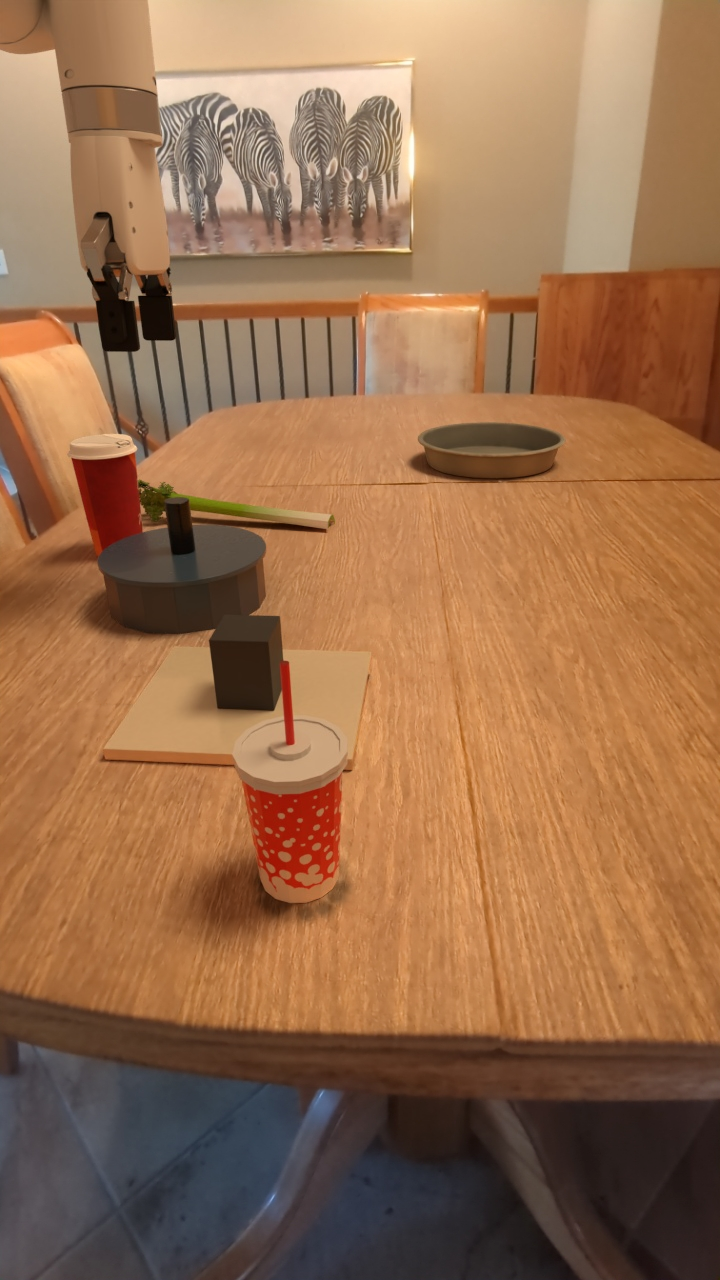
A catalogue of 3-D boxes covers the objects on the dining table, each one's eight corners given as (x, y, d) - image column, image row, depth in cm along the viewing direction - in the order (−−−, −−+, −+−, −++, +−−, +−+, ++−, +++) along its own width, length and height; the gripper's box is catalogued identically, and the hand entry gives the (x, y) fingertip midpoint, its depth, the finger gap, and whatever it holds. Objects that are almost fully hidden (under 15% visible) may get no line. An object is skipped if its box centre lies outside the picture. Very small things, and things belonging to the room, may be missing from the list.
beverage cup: (341, 920, 41) (331, 699, 34) (233, 906, 42) (204, 689, 35) (360, 842, 46) (355, 639, 40) (264, 832, 47) (244, 632, 41)
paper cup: (166, 549, 94) (149, 435, 87) (124, 570, 88) (103, 449, 81) (116, 541, 97) (97, 430, 90) (73, 561, 91) (49, 444, 84)
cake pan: (387, 463, 130) (387, 436, 128) (480, 440, 145) (482, 416, 143) (499, 490, 114) (501, 461, 112) (592, 462, 128) (595, 435, 126)
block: (217, 709, 58) (208, 640, 56) (231, 680, 62) (224, 614, 60) (274, 711, 58) (268, 641, 55) (285, 681, 62) (280, 615, 59)
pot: (86, 636, 72) (75, 583, 70) (143, 575, 86) (136, 529, 84) (245, 641, 71) (240, 587, 68) (278, 578, 85) (274, 531, 82)
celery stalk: (322, 554, 96) (111, 521, 102) (337, 543, 102) (137, 512, 108) (326, 506, 94) (109, 476, 100) (341, 498, 100) (137, 469, 106)
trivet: (104, 760, 54) (102, 748, 54) (174, 655, 69) (173, 645, 68) (352, 770, 53) (352, 759, 52) (372, 661, 67) (372, 651, 66)
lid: (70, 591, 70) (56, 526, 67) (135, 532, 84) (126, 477, 82) (245, 595, 68) (239, 528, 65) (281, 534, 83) (277, 478, 80)
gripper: (111, 138, 70) (137, 336, 78) (17, 105, 55) (60, 356, 62) (190, 137, 69) (208, 337, 77) (117, 103, 54) (148, 356, 62)
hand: (142, 345), depth 70 cm, fingers open, 9 cm apart
